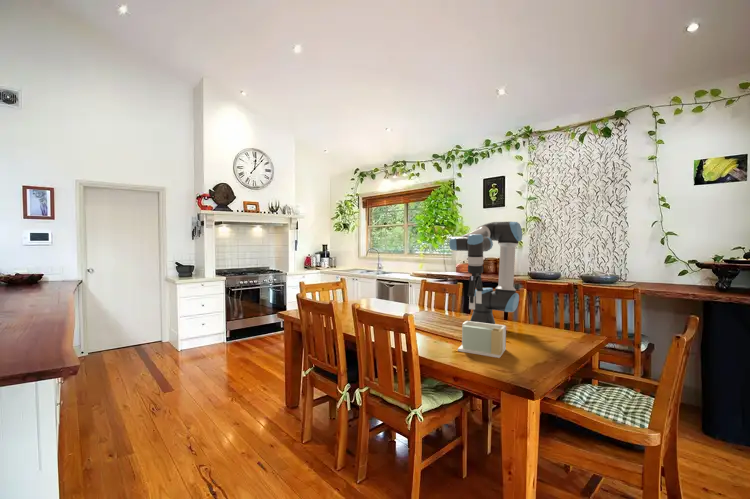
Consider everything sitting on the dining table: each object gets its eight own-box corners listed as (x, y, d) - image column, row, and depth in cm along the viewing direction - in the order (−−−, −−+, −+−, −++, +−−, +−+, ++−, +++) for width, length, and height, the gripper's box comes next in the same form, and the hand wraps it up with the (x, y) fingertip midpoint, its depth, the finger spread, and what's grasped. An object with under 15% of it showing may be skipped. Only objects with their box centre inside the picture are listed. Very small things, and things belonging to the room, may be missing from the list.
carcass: (466, 343, 193) (466, 320, 192) (505, 349, 183) (506, 325, 182) (457, 350, 181) (457, 326, 180) (499, 357, 171) (500, 332, 170)
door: (465, 346, 185) (465, 324, 184) (502, 351, 175) (502, 329, 175) (462, 348, 180) (462, 326, 180) (499, 355, 171) (500, 331, 171)
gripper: (474, 261, 198) (474, 300, 200) (461, 267, 176) (461, 311, 178) (488, 262, 194) (488, 301, 196) (476, 268, 173) (476, 312, 174)
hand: (475, 306), depth 187 cm, fingers open, 13 cm apart
